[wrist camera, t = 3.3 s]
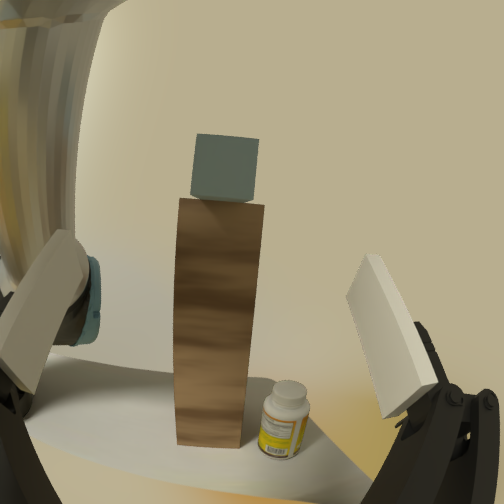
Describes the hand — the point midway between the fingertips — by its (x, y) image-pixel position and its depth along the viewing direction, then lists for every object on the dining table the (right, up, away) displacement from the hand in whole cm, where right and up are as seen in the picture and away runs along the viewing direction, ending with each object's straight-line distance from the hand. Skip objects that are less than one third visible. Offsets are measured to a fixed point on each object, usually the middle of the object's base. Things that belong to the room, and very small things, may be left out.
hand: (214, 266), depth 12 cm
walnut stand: (-4, -24, +24) cm, 34 cm away
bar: (-1, +6, +17) cm, 18 cm away
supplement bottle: (+5, -25, +20) cm, 33 cm away
